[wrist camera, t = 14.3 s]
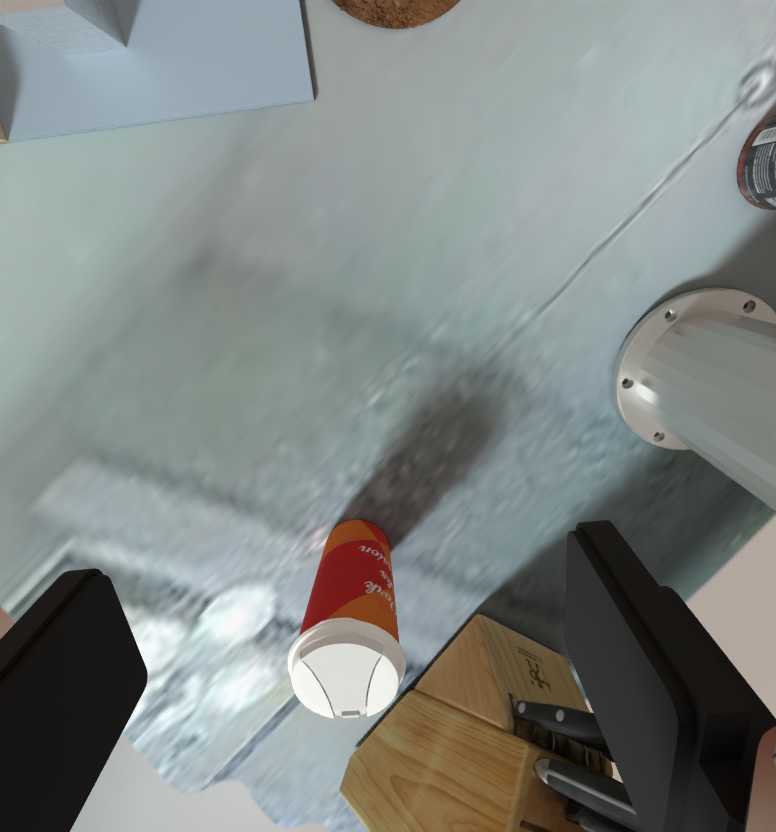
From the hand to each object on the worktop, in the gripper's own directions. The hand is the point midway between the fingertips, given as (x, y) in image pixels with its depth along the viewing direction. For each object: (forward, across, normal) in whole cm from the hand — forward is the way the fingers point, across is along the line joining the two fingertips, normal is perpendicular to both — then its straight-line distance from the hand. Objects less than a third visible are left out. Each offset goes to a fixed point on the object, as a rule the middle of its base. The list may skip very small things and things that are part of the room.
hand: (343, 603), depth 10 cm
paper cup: (+28, +4, +19) cm, 34 cm away
